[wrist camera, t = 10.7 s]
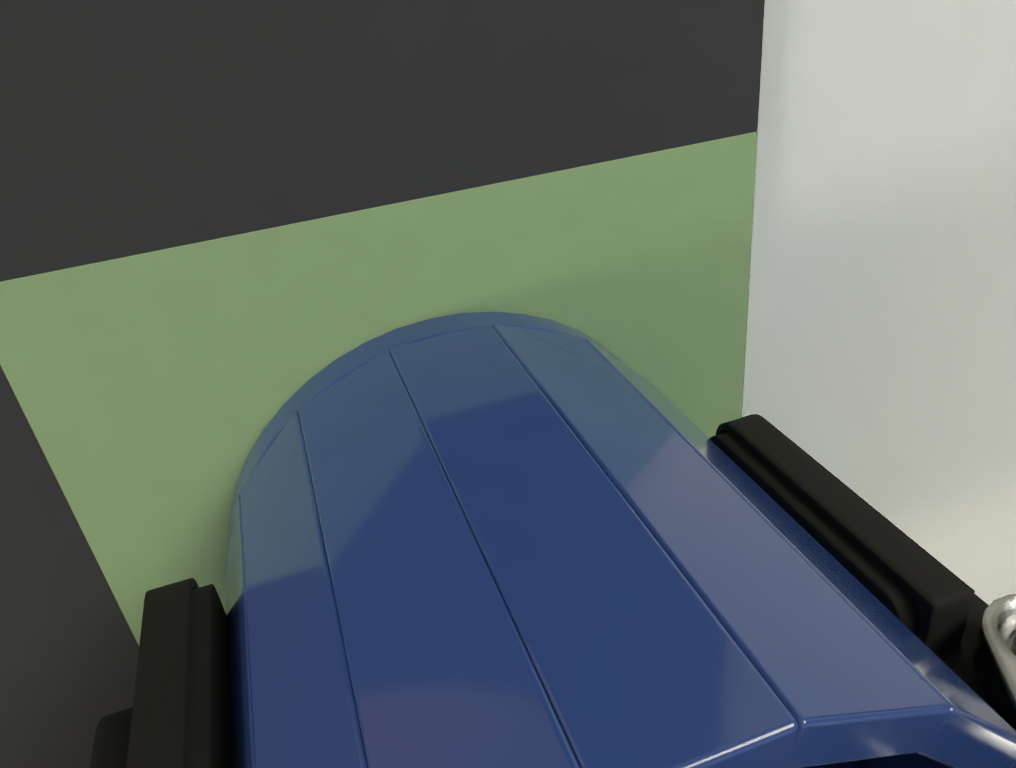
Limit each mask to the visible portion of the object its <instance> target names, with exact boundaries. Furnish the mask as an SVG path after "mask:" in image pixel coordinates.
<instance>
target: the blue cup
mask: <svg viewBox="0 0 1016 768" xmlns="http://www.w3.org/2000/svg"><path fill="white" fill-rule="evenodd" d="M228 541H229V554H228V560H227V566H226V572H225V589H226V615H227V654H228V694H229V734H230V768H1016V731H1015V730H1014V729H1013V728H1012V727H1011V726H1010V725H1009V724H1008V723H1007V722H1006V721H1005V720H1004V719H1002V718H1001V717H1000V716H999V715H998V714H997V713H996V712H995V711H994V710H993V709H992V708H991V707H990V706H989V705H988V704H987V703H986V702H985V701H984V700H983V699H982V698H980V697H979V696H978V695H977V694H976V693H975V692H974V691H973V690H972V689H971V688H970V687H969V686H968V685H967V684H966V683H965V682H964V681H963V680H962V679H961V678H960V677H958V676H957V675H956V674H955V673H954V672H953V671H952V670H951V669H950V668H949V667H948V666H947V665H946V664H945V663H944V662H943V661H942V660H941V659H940V658H939V657H938V656H936V655H935V654H934V653H933V652H932V651H931V650H930V649H929V648H928V647H927V646H926V645H925V644H924V643H923V642H922V641H921V640H920V639H919V638H918V637H917V636H916V635H914V634H913V633H912V632H911V631H910V630H909V629H908V628H907V627H906V626H905V625H904V624H903V623H902V622H901V621H900V620H899V619H898V618H897V617H896V616H895V615H894V614H892V613H891V612H890V611H889V610H888V609H887V608H886V607H885V606H884V605H883V604H882V603H881V602H880V601H879V600H878V599H877V598H876V597H875V596H874V595H873V594H872V593H870V592H869V591H868V590H867V589H866V588H865V587H864V586H863V585H862V584H861V583H860V582H859V581H858V580H857V579H856V578H855V577H854V576H853V575H852V574H851V573H850V572H848V571H847V570H846V569H845V568H844V567H843V566H842V565H841V564H840V563H839V562H838V561H837V560H836V559H835V558H834V557H833V556H832V555H831V554H830V553H829V552H827V551H826V550H825V549H824V548H823V547H822V546H821V545H820V544H819V543H818V542H817V541H816V540H815V539H814V538H813V537H812V536H811V535H810V534H809V533H808V532H807V531H805V530H804V529H803V528H802V527H801V526H800V525H799V524H798V523H797V522H796V521H795V520H794V519H793V518H792V517H791V516H790V515H789V514H788V513H787V512H786V511H785V510H783V509H782V508H781V507H780V506H779V505H778V504H777V503H776V502H775V501H774V500H773V499H772V498H771V497H770V496H769V495H768V494H767V493H766V492H765V491H764V490H763V489H761V488H760V487H759V486H758V485H757V484H756V483H755V482H754V481H753V480H752V479H751V478H750V477H749V476H748V475H747V474H746V473H745V472H744V471H743V470H742V469H741V468H739V467H738V466H737V465H736V464H735V463H734V462H733V461H732V460H731V459H730V458H729V457H728V456H727V455H726V454H725V453H724V452H723V451H722V450H721V449H720V448H719V447H717V446H716V445H715V444H714V443H713V442H712V441H711V440H710V439H709V438H708V437H707V436H706V435H705V434H704V433H703V432H702V431H701V430H700V429H699V428H698V427H697V426H695V425H694V424H693V423H692V422H691V421H690V420H689V419H688V418H687V417H686V416H685V415H684V414H683V413H682V412H681V411H680V410H679V409H678V408H677V407H676V406H675V405H673V404H672V403H671V402H670V401H669V400H668V399H667V398H666V397H665V396H664V395H663V394H662V393H661V392H660V391H659V390H658V389H657V388H656V387H655V386H654V385H653V384H651V383H650V382H649V381H648V380H647V379H646V378H644V377H643V376H641V375H640V374H638V373H637V372H635V371H634V370H633V369H631V368H630V367H628V366H627V365H626V364H625V363H624V362H623V361H622V360H621V359H620V358H619V357H618V356H617V355H615V354H614V353H613V352H612V351H610V350H609V349H608V348H607V347H605V346H604V345H603V344H602V343H600V342H598V341H597V340H595V339H593V338H591V337H590V336H588V335H586V334H584V333H583V332H581V331H579V330H577V329H574V328H572V327H569V326H566V325H564V324H561V323H558V322H556V321H553V320H549V319H544V318H540V317H536V316H531V315H527V314H518V313H506V312H473V313H459V314H453V315H447V316H441V317H436V318H430V319H426V320H423V321H420V322H416V323H413V324H410V325H406V326H403V327H400V328H397V329H394V330H392V331H390V332H387V333H385V334H383V335H380V336H378V337H376V338H373V339H371V340H369V341H367V342H365V343H363V344H361V345H359V346H358V347H356V348H354V349H353V350H351V351H349V352H347V353H346V354H344V355H342V356H341V357H339V358H337V359H336V360H334V361H333V362H332V363H330V364H329V365H328V366H326V367H325V368H324V369H322V370H321V371H320V372H318V373H317V374H316V375H314V376H313V377H312V378H310V379H309V380H308V381H307V382H306V383H305V384H304V385H303V386H302V387H301V388H300V389H299V390H298V391H297V392H296V393H295V394H294V395H293V396H292V397H291V398H290V399H289V400H288V401H286V402H285V403H284V405H283V406H282V407H281V408H280V410H279V411H278V412H277V413H276V415H275V416H274V417H273V419H272V420H271V421H270V422H269V424H268V425H267V426H266V427H265V429H264V430H263V432H262V434H261V435H260V437H259V439H258V440H257V442H256V444H255V445H254V447H253V449H252V450H251V452H250V454H249V455H248V458H247V460H246V462H245V465H244V467H243V470H242V472H241V475H240V477H239V479H238V482H237V485H236V489H235V493H234V497H233V502H232V506H231V510H230V522H229V535H228Z"/></svg>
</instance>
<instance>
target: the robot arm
mask: <svg viewBox="0 0 1016 768" xmlns="http://www.w3.org/2000/svg"><path fill="white" fill-rule="evenodd" d="M710 440H711V441H712V442H713V443H714V444H715V445H716V446H717V447H719V448H720V449H721V450H722V451H723V452H724V453H725V454H726V455H727V456H728V457H729V458H730V459H731V460H732V461H733V462H734V463H735V464H736V465H737V466H738V467H739V468H741V469H742V470H743V471H744V472H745V473H746V474H747V475H748V476H749V477H750V478H751V479H752V480H753V481H754V482H755V483H756V484H757V485H758V486H759V487H760V488H761V489H763V490H764V491H765V492H766V493H767V494H768V495H769V496H770V497H771V498H772V499H773V500H774V501H775V502H776V503H777V504H778V505H779V506H780V507H781V508H782V509H783V510H785V511H786V512H787V513H788V514H789V515H790V516H791V517H792V518H793V519H794V520H795V521H796V522H797V523H798V524H799V525H800V526H801V527H802V528H803V529H804V530H805V531H807V532H808V533H809V534H810V535H811V536H812V537H813V538H814V539H815V540H816V541H817V542H818V543H819V544H820V545H821V546H822V547H823V548H824V549H825V550H826V551H827V552H829V553H830V554H831V555H832V556H833V557H834V558H835V559H836V560H837V561H838V562H839V563H840V564H841V565H842V566H843V567H844V568H845V569H846V570H847V571H848V572H850V573H851V574H852V575H853V576H854V577H855V578H856V579H857V580H858V581H859V582H860V583H861V584H862V585H863V586H864V587H865V588H866V589H867V590H868V591H869V592H870V593H872V594H873V595H874V596H875V597H876V598H877V599H878V600H879V601H880V602H881V603H882V604H883V605H884V606H885V607H886V608H887V609H888V610H889V611H890V612H891V613H892V614H894V615H895V616H896V617H897V618H898V619H899V620H900V621H901V622H902V623H903V624H904V625H905V626H906V627H907V628H908V629H909V630H910V631H911V632H912V633H913V634H914V635H916V636H917V637H918V638H919V639H920V640H921V641H922V642H923V643H924V644H925V645H926V646H927V647H928V648H929V649H930V650H931V651H932V652H933V653H934V654H935V655H936V656H938V657H939V658H940V659H941V660H942V661H943V662H944V663H945V664H946V665H947V666H948V667H949V668H950V669H951V670H952V671H953V672H954V673H955V674H956V675H957V676H958V677H960V678H961V679H962V680H963V681H964V682H965V683H966V684H967V685H968V686H969V687H970V688H971V689H972V690H973V691H974V692H975V693H976V694H977V695H978V696H979V697H980V698H982V699H983V700H984V701H985V702H986V703H987V704H988V705H989V706H990V707H991V708H992V709H993V710H994V711H995V712H996V713H997V714H998V715H999V716H1000V717H1001V718H1002V719H1004V720H1005V721H1006V722H1007V723H1008V724H1009V725H1010V726H1011V727H1012V728H1013V729H1014V730H1015V731H1016V594H1013V595H1007V596H1005V597H1002V598H999V599H997V600H994V601H993V602H992V603H991V604H990V605H987V604H986V603H985V602H984V601H983V600H981V599H980V598H979V597H978V596H977V595H975V594H974V592H975V591H974V590H973V589H972V588H970V587H969V586H968V585H967V584H965V583H964V582H963V581H962V580H961V579H959V578H958V577H957V576H956V575H954V574H953V573H952V572H951V571H950V570H948V569H947V568H946V567H945V566H944V565H942V564H941V563H940V562H939V561H937V560H936V559H935V558H934V557H933V556H931V555H930V554H929V553H928V552H926V551H925V550H924V549H923V548H922V547H920V546H919V545H918V544H917V543H916V542H914V541H913V540H912V539H911V538H909V537H908V536H907V535H906V534H905V533H903V532H902V531H901V530H900V529H898V528H897V527H896V526H895V525H894V524H892V523H891V522H890V521H889V520H888V519H886V518H885V517H884V516H883V515H881V514H880V513H879V512H878V511H877V510H875V509H874V508H873V507H872V506H870V505H869V504H868V503H867V502H866V501H864V500H863V499H862V498H861V497H859V496H858V495H857V494H856V493H855V492H853V491H852V490H851V489H850V488H849V487H847V486H846V485H845V484H844V483H842V482H841V481H840V480H839V479H838V478H836V477H835V476H834V475H833V474H831V473H830V472H829V471H828V470H827V469H825V468H824V467H823V466H822V465H821V464H819V463H818V462H817V461H816V460H814V459H813V458H812V457H811V456H810V455H808V454H807V453H806V452H805V451H803V450H802V449H801V448H800V447H799V446H797V445H796V444H795V443H794V442H793V441H791V440H790V439H789V438H788V437H786V436H785V435H784V434H783V433H782V432H780V431H779V430H778V429H777V428H775V427H774V426H773V425H772V424H771V423H769V422H768V421H767V420H766V419H764V418H763V417H761V416H760V415H757V414H753V415H749V416H746V417H742V418H739V419H735V420H732V421H728V422H725V423H722V424H720V425H719V426H718V428H717V430H716V435H715V436H712V437H711V438H710ZM90 768H230V734H229V694H228V654H227V615H226V613H225V610H224V608H223V605H222V603H221V600H220V598H219V595H218V593H217V590H216V588H215V586H214V585H213V584H209V585H206V586H203V587H199V586H198V584H197V582H196V580H195V579H194V578H189V579H186V580H183V581H179V582H176V583H172V584H169V585H165V586H162V587H159V588H155V589H152V590H148V591H147V592H146V594H145V598H144V606H143V616H142V625H141V635H140V644H139V653H138V663H137V672H136V682H135V691H134V701H133V707H131V708H127V709H124V710H121V711H118V712H115V713H112V714H109V715H106V716H103V717H102V718H101V719H100V721H99V722H98V724H97V728H96V732H95V736H94V742H93V749H92V755H91V762H90Z"/></svg>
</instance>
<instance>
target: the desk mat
mask: <svg viewBox="0 0 1016 768" xmlns="http://www.w3.org/2000/svg"><path fill="white" fill-rule="evenodd" d="M763 18H764V0H0V768H90V762H91V755H92V749H93V742H94V736H95V732H96V728H97V724H98V722H99V721H100V719H101V718H102V717H103V716H106V715H109V714H112V713H115V712H118V711H121V710H124V709H127V708H131V707H133V701H134V691H135V682H136V672H137V663H138V653H139V644H140V635H141V625H142V616H143V606H144V598H145V594H146V592H147V591H148V590H152V589H155V588H159V587H162V586H165V585H169V584H172V583H176V582H179V581H183V580H186V579H189V578H194V579H195V580H196V582H197V584H198V586H199V587H203V586H206V585H209V584H213V585H214V586H215V588H216V590H217V593H218V595H219V598H220V600H221V603H222V605H223V608H224V610H225V613H226V589H225V572H226V566H227V560H228V554H229V541H228V535H229V522H230V510H231V506H232V502H233V497H234V493H235V489H236V485H237V482H238V479H239V477H240V475H241V472H242V470H243V467H244V465H245V462H246V460H247V458H248V455H249V454H250V452H251V450H252V449H253V447H254V445H255V444H256V442H257V440H258V439H259V437H260V435H261V434H262V432H263V430H264V429H265V427H266V426H267V425H268V424H269V422H270V421H271V420H272V419H273V417H274V416H275V415H276V413H277V412H278V411H279V410H280V408H281V407H282V406H283V405H284V403H285V402H286V401H288V400H289V399H290V398H291V397H292V396H293V395H294V394H295V393H296V392H297V391H298V390H299V389H300V388H301V387H302V386H303V385H304V384H305V383H306V382H307V381H308V380H309V379H310V378H312V377H313V376H314V375H316V374H317V373H318V372H320V371H321V370H322V369H324V368H325V367H326V366H328V365H329V364H330V363H332V362H333V361H334V360H336V359H337V358H339V357H341V356H342V355H344V354H346V353H347V352H349V351H351V350H353V349H354V348H356V347H358V346H359V345H361V344H363V343H365V342H367V341H369V340H371V339H373V338H376V337H378V336H380V335H383V334H385V333H387V332H390V331H392V330H394V329H397V328H400V327H403V326H406V325H410V324H413V323H416V322H420V321H423V320H426V319H430V318H436V317H441V316H447V315H453V314H459V313H473V312H506V313H518V314H527V315H531V316H536V317H540V318H544V319H549V320H553V321H556V322H558V323H561V324H564V325H566V326H569V327H572V328H574V329H577V330H579V331H581V332H583V333H584V334H586V335H588V336H590V337H591V338H593V339H595V340H597V341H598V342H600V343H602V344H603V345H604V346H605V347H607V348H608V349H609V350H610V351H612V352H613V353H614V354H615V355H617V356H618V357H619V358H620V359H621V360H622V361H623V362H624V363H625V364H626V365H627V366H628V367H630V368H631V369H633V370H634V371H635V372H637V373H638V374H640V375H641V376H643V377H644V378H646V379H647V380H648V381H649V382H650V383H651V384H653V385H654V386H655V387H656V388H657V389H658V390H659V391H660V392H661V393H662V394H663V395H664V396H665V397H666V398H667V399H668V400H669V401H670V402H671V403H672V404H673V405H675V406H676V407H677V408H678V409H679V410H680V411H681V412H682V413H683V414H684V415H685V416H686V417H687V418H688V419H689V420H690V421H691V422H692V423H693V424H694V425H695V426H697V427H698V428H699V429H700V430H701V431H702V432H703V433H704V434H705V435H706V436H707V437H708V438H709V439H710V438H711V437H712V436H715V435H716V430H717V428H718V426H719V425H720V424H722V423H725V422H728V421H732V420H735V419H739V418H742V404H743V386H744V368H745V350H746V332H747V314H748V296H749V278H750V260H751V242H752V224H753V206H754V188H755V170H756V152H757V134H758V132H757V127H758V109H759V91H760V72H761V54H762V36H763Z"/></svg>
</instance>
